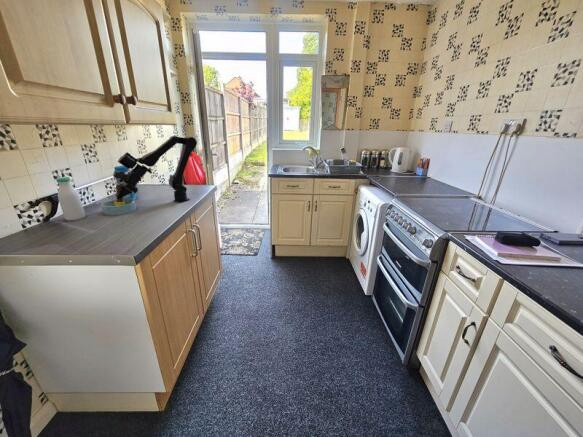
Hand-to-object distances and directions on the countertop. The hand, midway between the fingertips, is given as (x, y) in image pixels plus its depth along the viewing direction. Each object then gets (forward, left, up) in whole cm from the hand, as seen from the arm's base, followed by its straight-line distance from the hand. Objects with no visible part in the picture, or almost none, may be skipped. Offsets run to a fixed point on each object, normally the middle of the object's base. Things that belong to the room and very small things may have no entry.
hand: (117, 197), depth 128 cm
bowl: (0, +1, -7) cm, 7 cm away
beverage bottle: (-17, -17, -7) cm, 25 cm away
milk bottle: (+16, -8, -7) cm, 20 cm away
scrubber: (0, +1, -6) cm, 6 cm away
